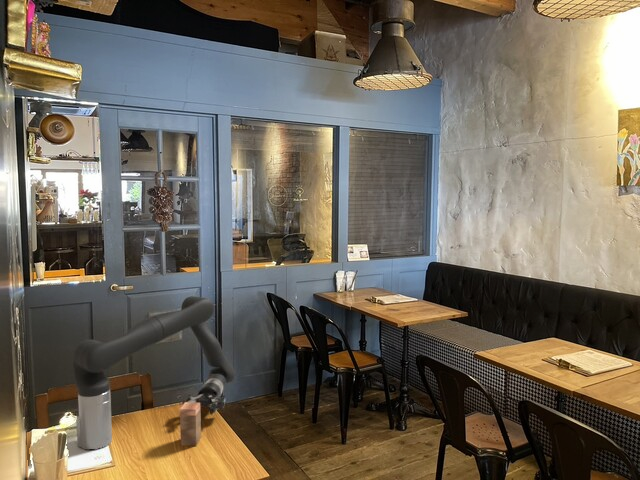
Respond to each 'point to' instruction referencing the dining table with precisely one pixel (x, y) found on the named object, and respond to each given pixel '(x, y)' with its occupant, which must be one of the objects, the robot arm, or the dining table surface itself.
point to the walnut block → (190, 424)
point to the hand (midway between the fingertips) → (198, 411)
